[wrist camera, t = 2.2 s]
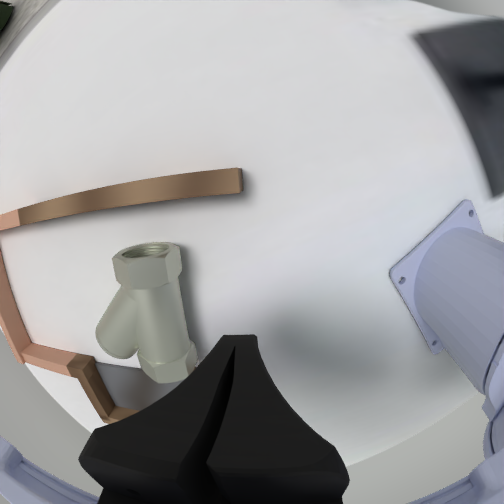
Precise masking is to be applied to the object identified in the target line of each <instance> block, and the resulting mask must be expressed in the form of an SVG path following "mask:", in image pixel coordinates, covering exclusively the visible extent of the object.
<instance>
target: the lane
mask: <svg viewBox="0 0 504 504" xmlns="http://www.w3.org/2000/svg"><path fill="white" fill-rule="evenodd" d="M242 191H243V182H242V169H241V168H230V169H219V170H210V171H201V172H192V173H185V174H177V175H170V176H163V177H157V178H150V179H144V180H138V181H133V182H127V183H122V184H117V185H112V186H107V187H102V188H97V189H93V190H88V191H84V192H79V193H75V194H71V195H67V196H63V197H59V198H55V199H51V200H48V201H44V202H40V203H37V204H34V205H30V206H27V207H23V208H20V209H18V216H19V222H20V226H21V225H25V224H29V223H34V222H38V221H43V220H48V219H53V218H58V217H63V216H68V215H73V214H78V213H84V212H90V211H95V210H101V209H108V208H114V207H120V206H127V205H134V204H141V203H148V202H156V201H164V200H172V199H181V198H190V197H200V196H210V195H221V194H233V193H240V192H242ZM66 367H67V369H68V371H69V373H70V375H71V377H74V378H78V380H79V382H80V384H81V385H82V387H83V389H84V391H85V393H86V394H87V396H88V398H89V400H90V401H91V403H92V405H93V406H94V408H95V410H96V411H97V413H98V414H99V416H100V418H101V419H102V421H103V422H104V423H108V424H111V423H114V422H117V421H119V420H122V419H124V418H126V417H129V416H131V415H133V414H135V413H137V412H139V411H141V410H143V409H145V408H146V407H148V406H150V405H151V404H153V403H154V402H156V401H157V400H159V399H161V398H162V397H164V396H165V395H167V394H168V393H169V392H170V391H172V390H173V389H174V388H176V387H177V386H178V385H179V384H180V383H181V382H182V381H184V380H185V379H183V380H180V381H177V382H172V383H157V382H156V381H154V380H153V379H151V378H150V377H149V376H148V375H147V374H146V373H145V372H144V371H143V370H142V369H140V368H132V367H124V366H117V365H111V364H105V363H99V362H95V359H94V357H93V356H88V355H82V354H76V355H75V357H74V358H73V359H72V360H71V361H70V362H69V363H68V364H67V366H66ZM196 368H197V367H195V368H194V370H195V369H196ZM194 370H193V371H194Z"/></svg>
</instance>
